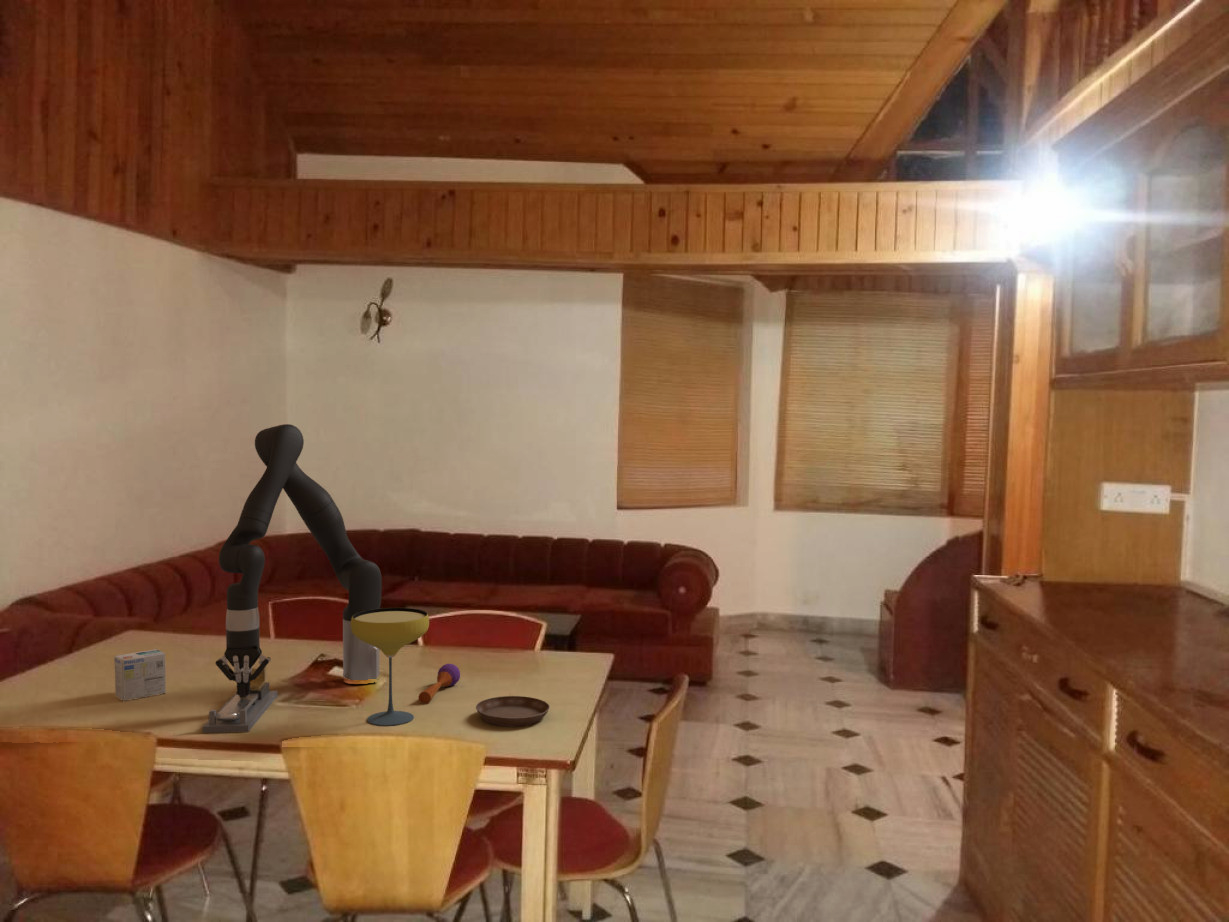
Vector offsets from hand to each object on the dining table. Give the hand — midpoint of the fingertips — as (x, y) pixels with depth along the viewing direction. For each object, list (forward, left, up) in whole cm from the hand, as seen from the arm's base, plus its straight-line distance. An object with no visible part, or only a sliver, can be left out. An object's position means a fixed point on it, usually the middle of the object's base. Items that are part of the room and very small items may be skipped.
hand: (243, 696), depth 236 cm
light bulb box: (+30, -17, -4) cm, 35 cm away
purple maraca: (-46, -13, -4) cm, 48 cm away
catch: (0, -8, 0) cm, 8 cm away
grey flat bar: (0, +5, -2) cm, 5 cm away
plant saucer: (-65, +9, -4) cm, 66 cm away
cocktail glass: (-36, +8, -4) cm, 37 cm away
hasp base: (0, +1, -4) cm, 4 cm away
